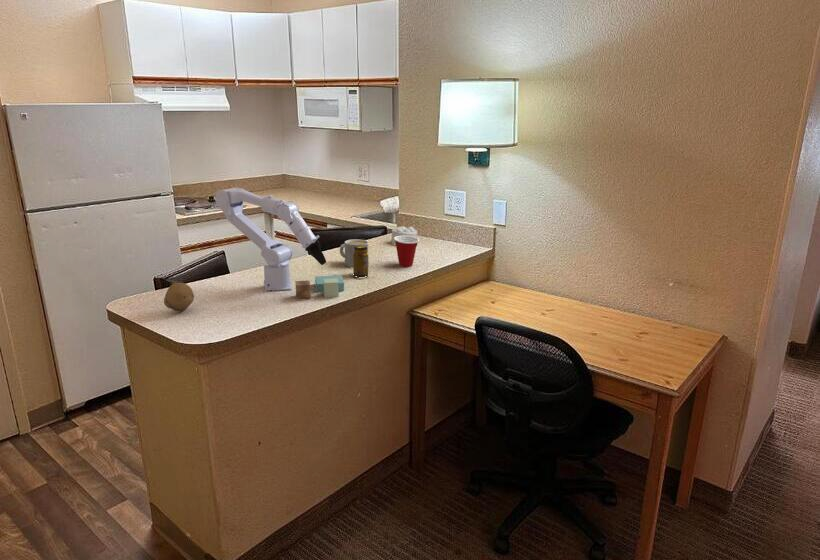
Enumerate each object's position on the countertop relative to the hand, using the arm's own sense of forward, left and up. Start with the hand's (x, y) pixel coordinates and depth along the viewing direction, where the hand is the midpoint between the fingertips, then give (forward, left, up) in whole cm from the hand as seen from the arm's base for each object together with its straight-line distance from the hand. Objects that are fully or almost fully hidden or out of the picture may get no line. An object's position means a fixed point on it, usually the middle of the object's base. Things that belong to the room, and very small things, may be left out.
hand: (323, 262), depth 206 cm
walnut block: (-8, -2, -12) cm, 14 cm away
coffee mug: (+15, +39, -12) cm, 43 cm away
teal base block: (+2, +8, -12) cm, 15 cm away
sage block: (+2, -1, -12) cm, 12 cm away
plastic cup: (+37, +33, -12) cm, 51 cm away
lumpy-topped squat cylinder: (+44, +69, -12) cm, 83 cm away
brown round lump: (-48, -10, -12) cm, 50 cm away
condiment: (+16, +21, -12) cm, 29 cm away
